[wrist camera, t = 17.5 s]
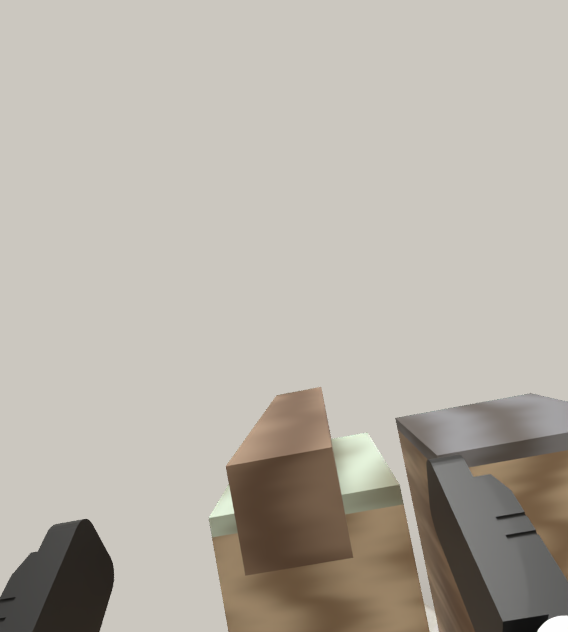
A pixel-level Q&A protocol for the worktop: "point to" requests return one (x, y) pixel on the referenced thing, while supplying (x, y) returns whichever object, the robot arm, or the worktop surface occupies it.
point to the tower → (332, 562)
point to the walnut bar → (288, 488)
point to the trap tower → (498, 460)
